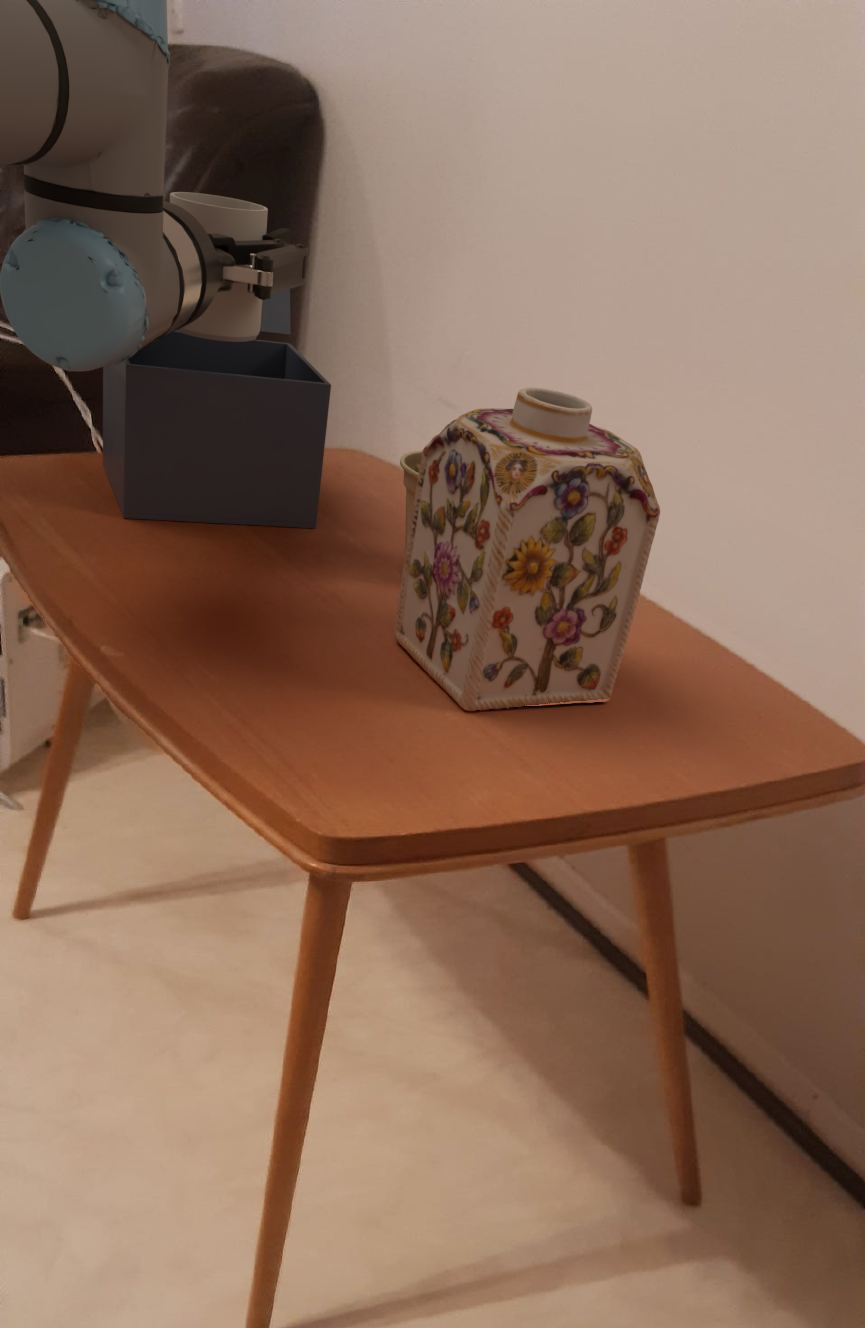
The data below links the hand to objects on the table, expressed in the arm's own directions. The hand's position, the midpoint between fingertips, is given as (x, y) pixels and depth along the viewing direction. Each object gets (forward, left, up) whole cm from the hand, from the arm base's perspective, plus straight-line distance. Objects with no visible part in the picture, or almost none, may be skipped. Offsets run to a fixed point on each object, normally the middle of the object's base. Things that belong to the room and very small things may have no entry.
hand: (236, 238), depth 97 cm
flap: (-4, +2, -4) cm, 6 cm away
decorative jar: (+29, -29, -19) cm, 45 cm away
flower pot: (+22, -13, -19) cm, 32 cm away
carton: (0, -5, -19) cm, 20 cm away
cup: (0, -5, -6) cm, 8 cm away
